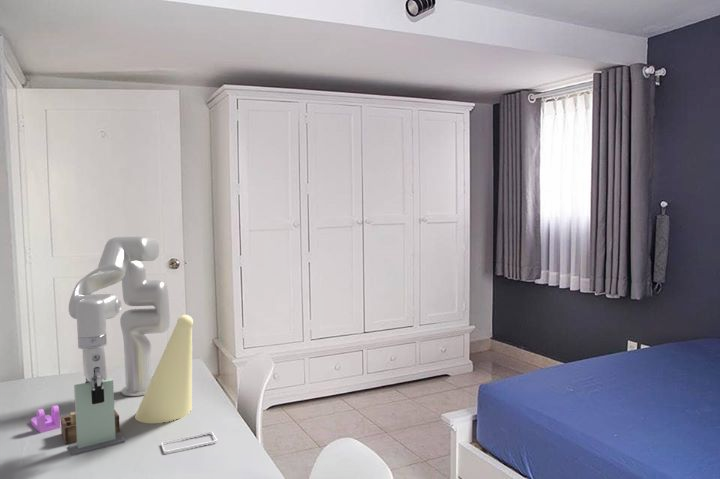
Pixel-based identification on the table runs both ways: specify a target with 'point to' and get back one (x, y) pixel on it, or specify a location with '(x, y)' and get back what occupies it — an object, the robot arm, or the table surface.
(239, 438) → the table surface
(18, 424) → the table surface
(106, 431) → the green board
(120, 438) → the charcoal mat
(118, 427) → the walnut rack
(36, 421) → the bracket
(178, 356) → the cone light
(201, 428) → the table surface
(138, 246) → the robot arm
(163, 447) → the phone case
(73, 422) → the oak offcut
